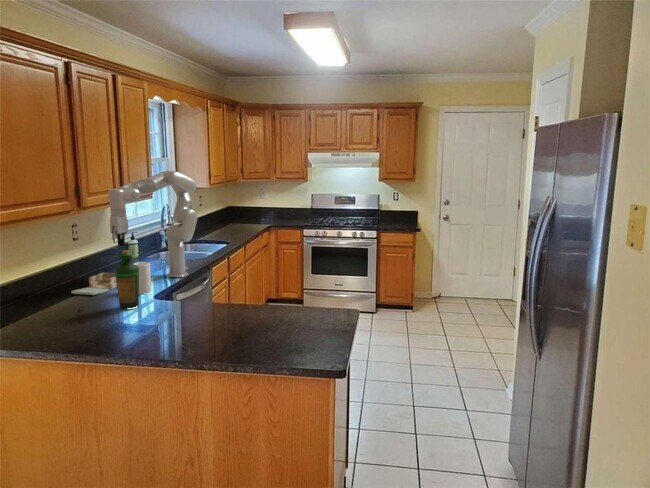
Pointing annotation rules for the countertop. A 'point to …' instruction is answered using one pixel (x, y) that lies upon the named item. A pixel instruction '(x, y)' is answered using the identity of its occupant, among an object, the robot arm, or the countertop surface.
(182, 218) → the robot arm
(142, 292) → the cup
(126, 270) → the bottle
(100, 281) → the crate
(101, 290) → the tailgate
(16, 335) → the countertop surface
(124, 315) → the countertop surface
